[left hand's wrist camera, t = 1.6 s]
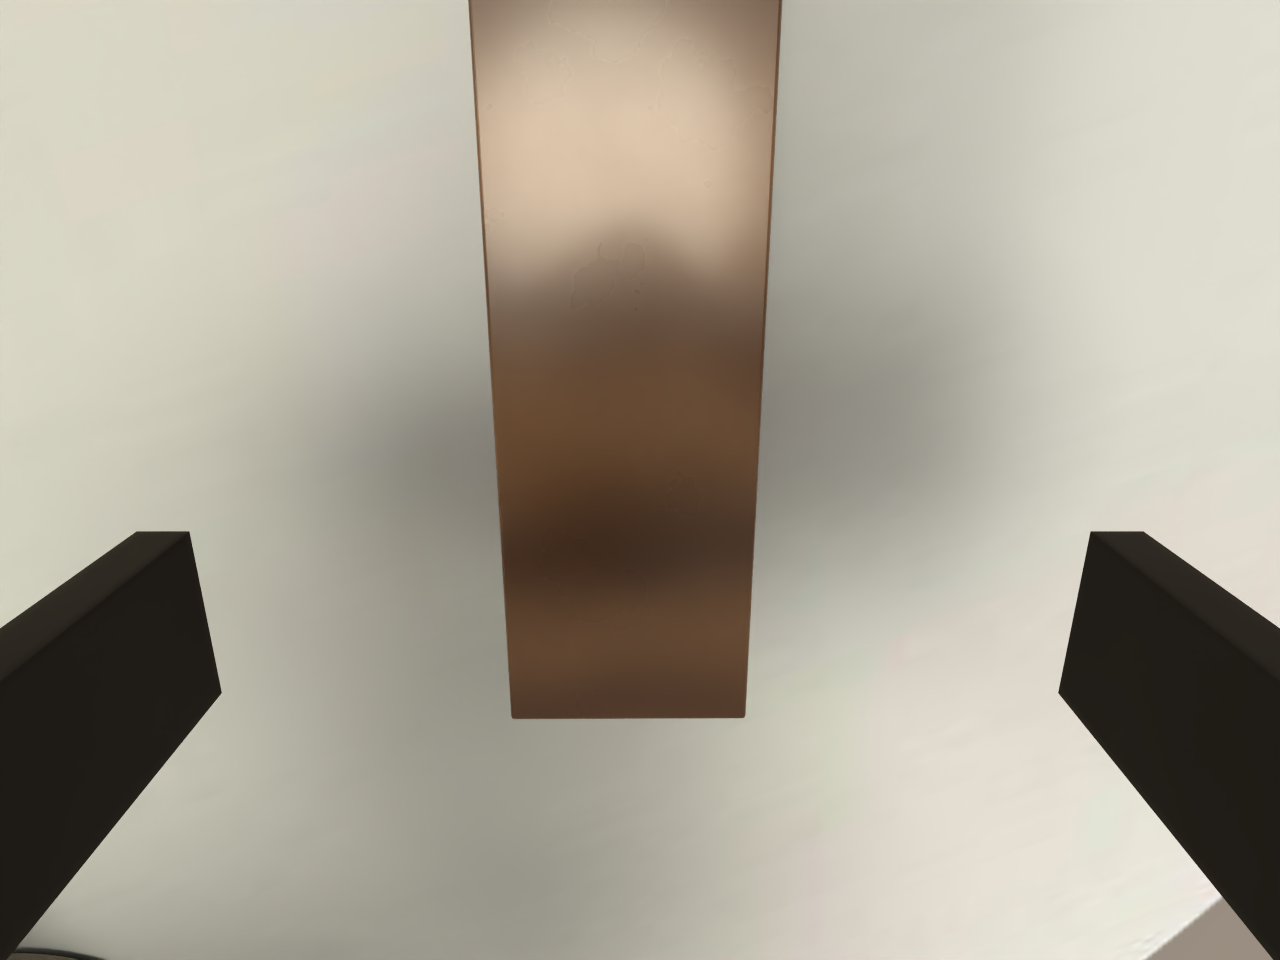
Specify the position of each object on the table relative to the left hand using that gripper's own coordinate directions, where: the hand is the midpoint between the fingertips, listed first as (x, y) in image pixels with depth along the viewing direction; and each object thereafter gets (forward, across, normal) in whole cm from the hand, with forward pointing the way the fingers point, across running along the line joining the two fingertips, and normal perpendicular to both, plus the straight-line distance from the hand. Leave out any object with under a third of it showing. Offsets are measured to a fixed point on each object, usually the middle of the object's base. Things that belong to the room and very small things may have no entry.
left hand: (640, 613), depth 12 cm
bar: (+14, 0, -31) cm, 34 cm away
